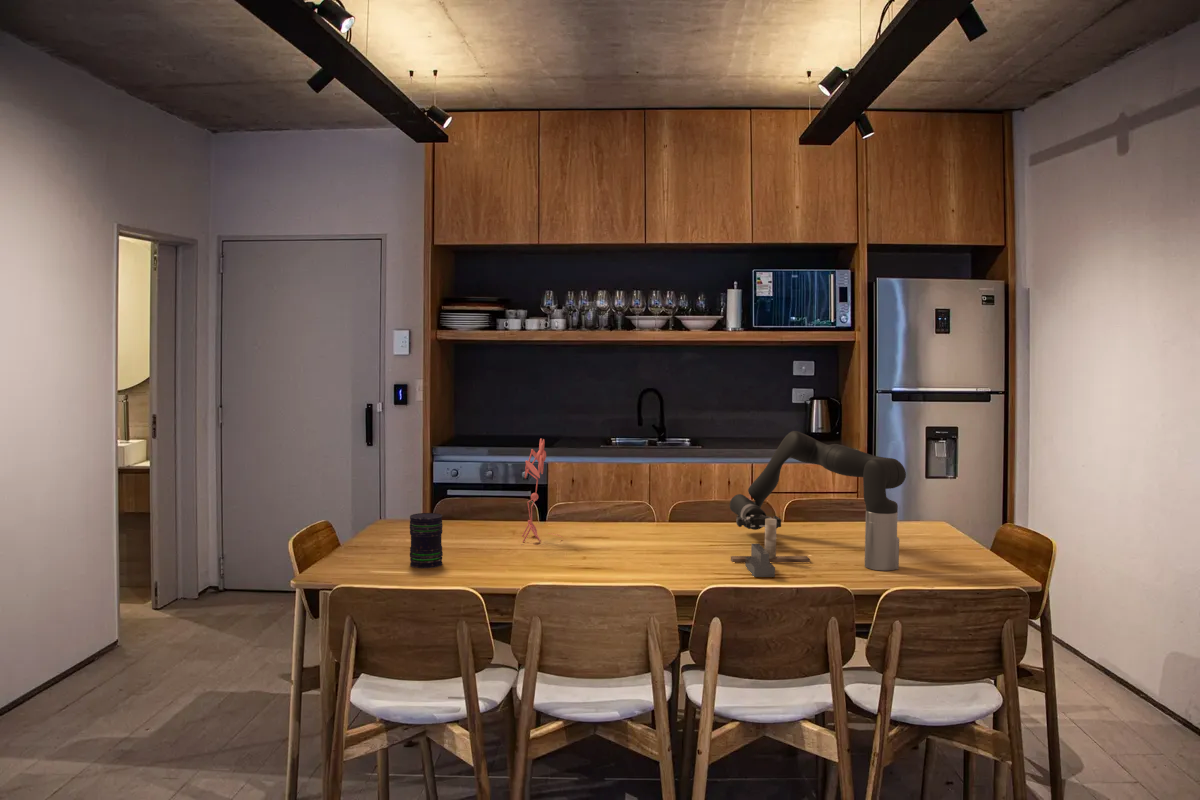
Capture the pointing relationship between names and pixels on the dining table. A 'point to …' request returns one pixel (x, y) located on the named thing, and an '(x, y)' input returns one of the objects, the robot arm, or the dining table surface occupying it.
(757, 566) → the ridge
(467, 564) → the dining table surface
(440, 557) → the storage jar
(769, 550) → the balance bar
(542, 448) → the figurine
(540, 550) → the dining table surface
